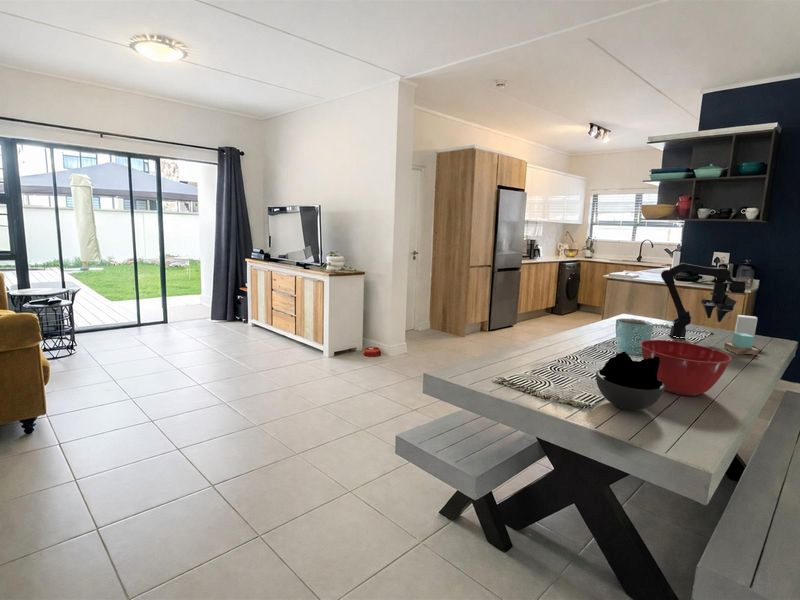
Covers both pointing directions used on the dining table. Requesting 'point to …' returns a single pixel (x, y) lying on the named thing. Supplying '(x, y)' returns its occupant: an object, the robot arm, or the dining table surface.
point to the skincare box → (746, 324)
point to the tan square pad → (741, 349)
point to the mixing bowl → (686, 365)
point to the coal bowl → (630, 382)
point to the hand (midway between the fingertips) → (713, 320)
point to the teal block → (742, 340)
